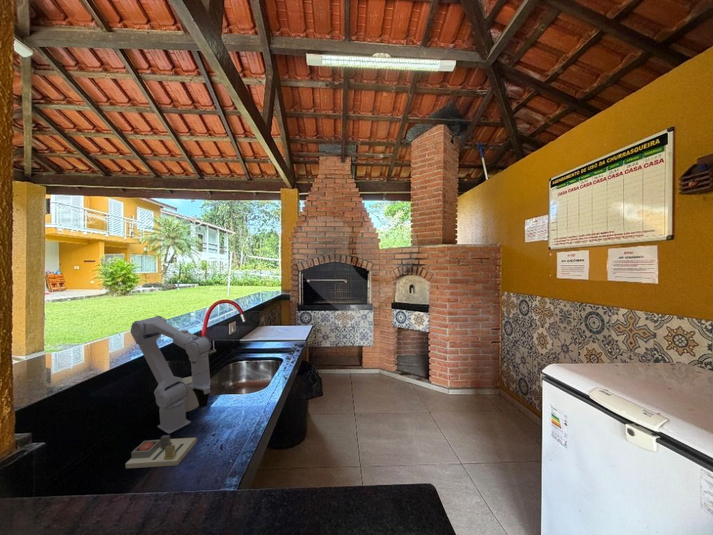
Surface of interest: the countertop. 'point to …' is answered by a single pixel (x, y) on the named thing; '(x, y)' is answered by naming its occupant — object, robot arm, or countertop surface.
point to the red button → (146, 446)
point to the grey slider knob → (165, 441)
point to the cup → (190, 396)
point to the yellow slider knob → (170, 452)
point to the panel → (160, 454)
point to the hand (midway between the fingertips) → (203, 406)
